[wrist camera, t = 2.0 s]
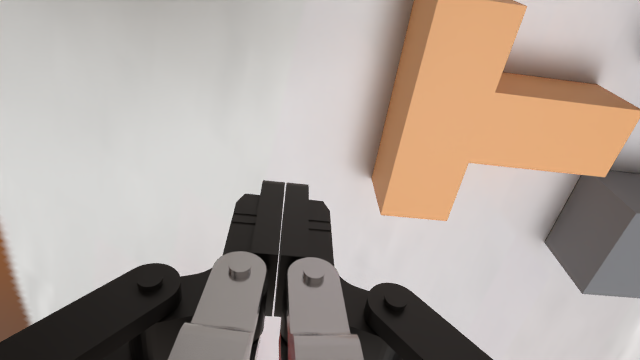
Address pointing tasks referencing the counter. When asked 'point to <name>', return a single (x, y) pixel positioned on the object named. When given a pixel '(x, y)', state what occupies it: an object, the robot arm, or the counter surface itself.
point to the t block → (483, 111)
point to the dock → (601, 235)
